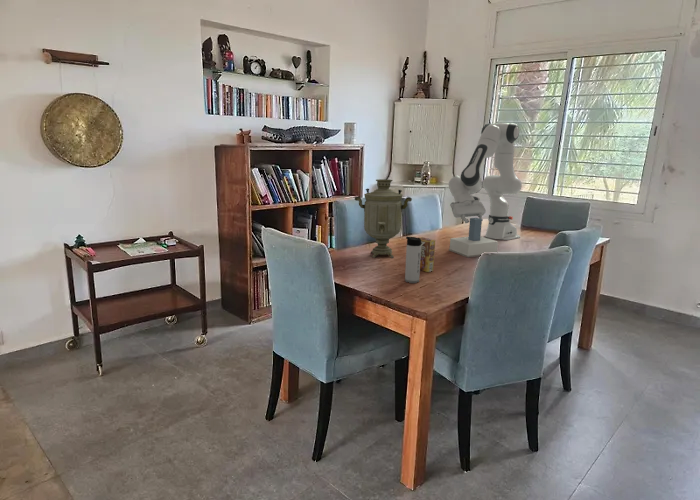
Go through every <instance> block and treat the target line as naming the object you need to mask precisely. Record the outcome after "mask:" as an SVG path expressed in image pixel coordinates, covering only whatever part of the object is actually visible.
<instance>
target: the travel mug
mask: <svg viewBox="0 0 700 500" xmlns="http://www.w3.org/2000/svg"><path fill="white" fill-rule="evenodd" d="M405 249H406V254H405V271H404V272H405V273H404V281H405V282H406V283H408V282H409V284H418V283H419V282H420V273H421V270H420V258H421V239H420V238H418V237H416V236H406V248H405ZM417 282H418V283H417Z"/></svg>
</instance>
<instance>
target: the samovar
mask: <svg viewBox="0 0 700 500" xmlns="http://www.w3.org/2000/svg"><path fill="white" fill-rule="evenodd" d="M375 181H376V183H377V184H376V186H377V188H376V189H374V191H371V192H370V188H366V189H365V191H366V193H364V194H363V195H364V198H365V199H364V200H365V201H364V204H363V200H362V198H361V196H354V200H355V202H356V201H357V202H358V206H359V207H360V208H361V209H363V213H364V216H363V217H364V219H363V221H364V222H363V224H364V225H363V227H364V231H365V232H366V234H367V235H368V236H370V237H371V238H373V239H375V244H377V245H376V246H375V247H373V248H372V249H371V253H372V254H373V255H371V258H372V257H373V259H375V258H376V257H377V256H378V255H385V256H386V255H388V256H389V257H390V258H391V259H394V255H393V254H392V253H393V251H392V250H393V249H392V248H390V247H391V246H388V244H389V243H390V239H393V238H395V237H396V236H397V235H398V234H399V233H400V231H401V229H402V212H403V210H405V209H406V208H407V207H408V205H409V204H408V202H412V200H413V199H412V197H409V196H408V197H406V198H405V199H404V203H403V204H402V201H401V200H402V199H403V193H402V192H403V190H402V189H397V191H398V192H396V191H394V190H392V189H390V187H391V184H392V182H394V181H393V179H385V178H383V179H380V178H379V179H375Z"/></svg>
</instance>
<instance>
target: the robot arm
mask: <svg viewBox="0 0 700 500" xmlns="http://www.w3.org/2000/svg"><path fill="white" fill-rule="evenodd" d="M480 134H481V135H480V137H479V139H478V141H477V145H476V148H475V149H474V150H473V152H472V153H473V154H472V156H471V157H470V160H469V162H468V163H467V165H466V166H465V168H463V170H462V171H461V174H460V175H455V176H453V177H452V178H450V180H449V181H448V188H449V191H450V195H451V196H452V197H453V198H454V199H453V200H454V201H453V202H451V203H450V205H449V206H450V208H451V211H452V214H453V217H454V218H456V219H457V218H461V219H460V220H462V221H463V222H464V223H465V224H469V223H470V219H469V217H471V218H472V217H477V218H480V219H482V222H483V216H484V215H485V214H486V212H487V211H486V208H485V206H484V205H483V202H481V200H480V197H478V196H474V195H473V194H476V193H478V192H480V191H481V190H482V188H483V190H484V191H485V192H486V193H487V195H488V198H489V203H490V205H489V214H488V224H487V227H486V228H487V229H486V232H485V234H484V235H485V236H484V237H485V238H488V239H491V240H504V241H509V240H514V239H520V238H521V235H520V234H518V230H517V227H516V226H515V225H514V224H513V223H512V222H511V221H510V220H513V219H514V218H513V216H512V215H511V216H509V208H510V207H509V206H510V204H509V202H508V200H506V198H505V197H504V195H508V196H509V195H511V196H512V195H517V194H519V193H520V191H521V190H522V186H523V184H522V181H521V179H520V178H518V176H517V174H516V173H515V168H514V157H515V156H514V155H515V142H516V140H517V139H518V137H519V136H520V127H519V125H518V124H517V123H513V122H496V123H495V122H494V123H486V124H484V126H483V127H482V128H481V133H480ZM493 156H494V159H493V161H494V163H493V165H494V168H496V169H497V170H498V172H499V175H497V174H490V175H487V176H485V177H484V179H483V181H482V177H481V176H480V175H481V174H480V167H481V165H482V163H483V161H484V159H487V158H492V157H493ZM467 217H468V218H467Z"/></svg>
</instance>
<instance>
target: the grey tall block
mask: <svg viewBox="0 0 700 500" xmlns="http://www.w3.org/2000/svg"><path fill="white" fill-rule="evenodd" d="M482 219H483V218H482ZM482 219H480V218H479V217H471V218H469V225H468V226H469V227H468V236H467V237H468V239H469V240H472V241H480V236H481V234H482V224H483V221H482Z"/></svg>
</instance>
